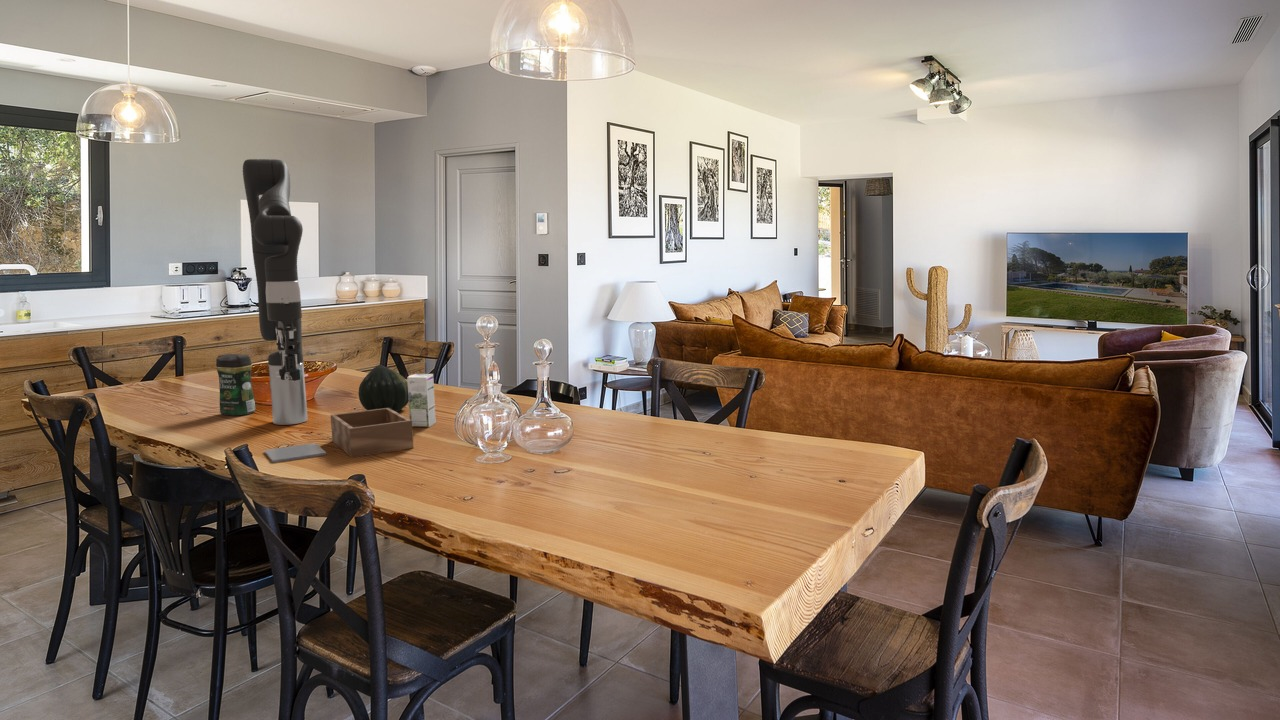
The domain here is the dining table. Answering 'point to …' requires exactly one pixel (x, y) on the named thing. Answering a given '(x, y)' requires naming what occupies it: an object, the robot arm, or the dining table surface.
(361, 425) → the walnut box frame
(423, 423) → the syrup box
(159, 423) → the dining table surface
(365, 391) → the squash
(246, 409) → the coffee jar
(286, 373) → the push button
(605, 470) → the dining table surface
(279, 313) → the robot arm
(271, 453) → the slate pad
